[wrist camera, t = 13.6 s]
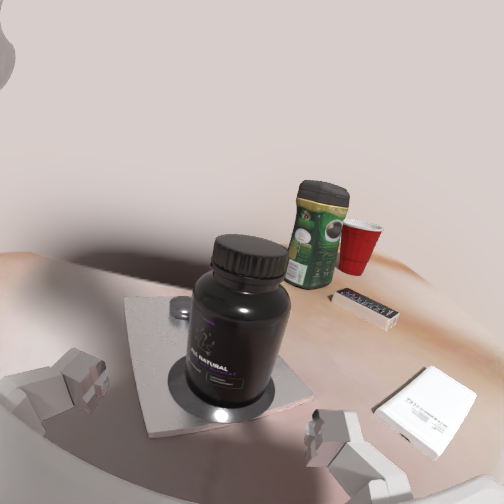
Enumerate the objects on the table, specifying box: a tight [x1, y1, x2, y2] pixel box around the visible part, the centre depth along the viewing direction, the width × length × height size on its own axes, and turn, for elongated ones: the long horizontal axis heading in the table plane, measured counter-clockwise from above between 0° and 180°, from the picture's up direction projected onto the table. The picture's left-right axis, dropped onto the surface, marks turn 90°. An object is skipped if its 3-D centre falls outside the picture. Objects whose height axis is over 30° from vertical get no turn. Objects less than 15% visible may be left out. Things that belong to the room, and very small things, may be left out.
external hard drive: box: [374, 366, 476, 461], centre depth 19 cm, size 2×8×12 cm
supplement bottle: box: [185, 234, 291, 409], centre depth 19 cm, size 7×7×12 cm
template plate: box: [124, 296, 315, 439], centre depth 25 cm, size 14×20×2 cm
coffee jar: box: [284, 180, 350, 289], centre depth 48 cm, size 10×8×19 cm
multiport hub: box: [331, 288, 400, 331], centre depth 40 cm, size 4×11×2 cm, turn 38°
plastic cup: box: [339, 219, 384, 276], centre depth 60 cm, size 11×11×12 cm
